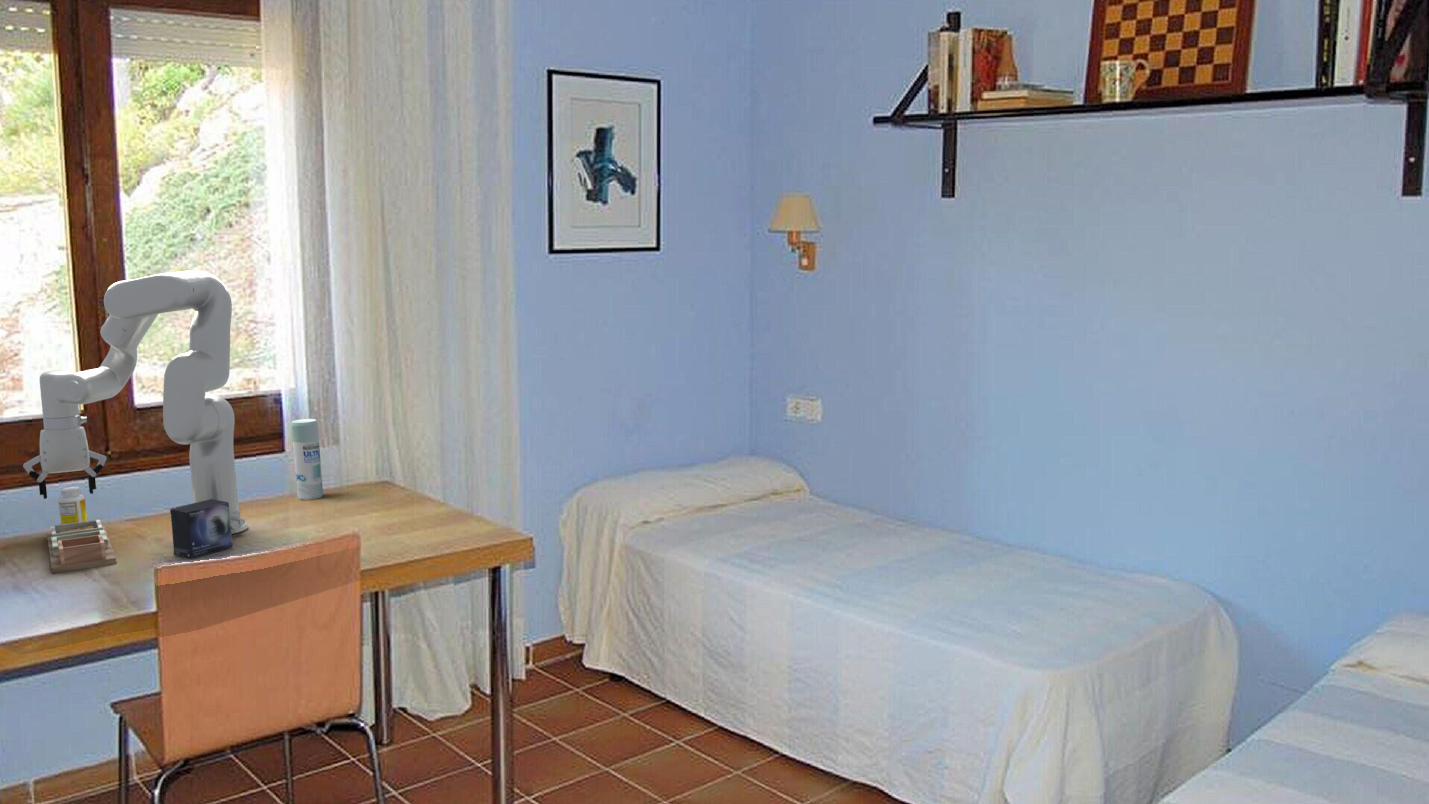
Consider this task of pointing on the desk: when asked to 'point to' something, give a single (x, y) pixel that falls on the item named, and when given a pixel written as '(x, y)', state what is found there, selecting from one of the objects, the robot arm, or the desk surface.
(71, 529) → the plate
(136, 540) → the desk surface
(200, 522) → the small box
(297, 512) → the desk surface
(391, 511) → the desk surface
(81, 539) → the board
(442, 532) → the desk surface
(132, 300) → the robot arm
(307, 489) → the spray paint can
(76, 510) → the supplement bottle
